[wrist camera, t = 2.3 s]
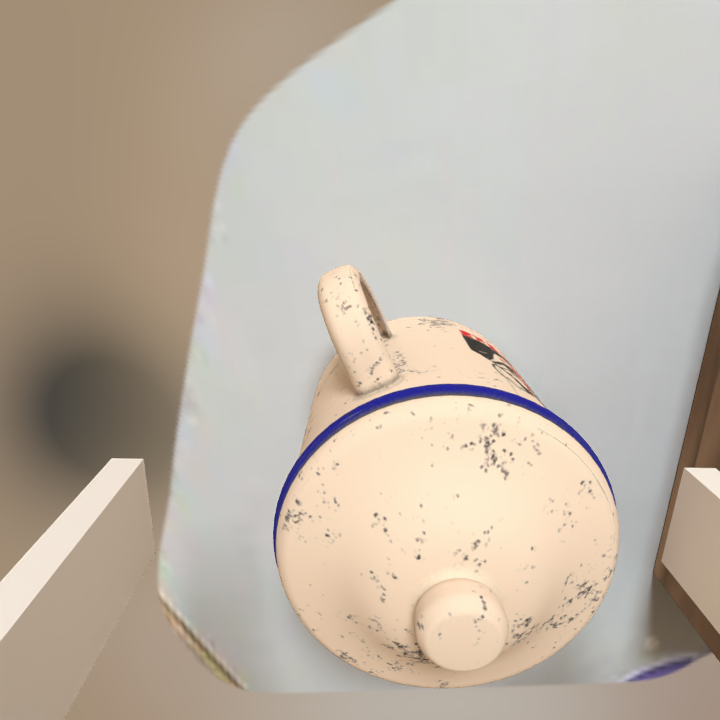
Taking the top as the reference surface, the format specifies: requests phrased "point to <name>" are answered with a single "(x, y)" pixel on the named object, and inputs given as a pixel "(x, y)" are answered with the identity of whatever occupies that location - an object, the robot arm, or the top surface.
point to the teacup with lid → (438, 505)
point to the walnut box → (700, 450)
